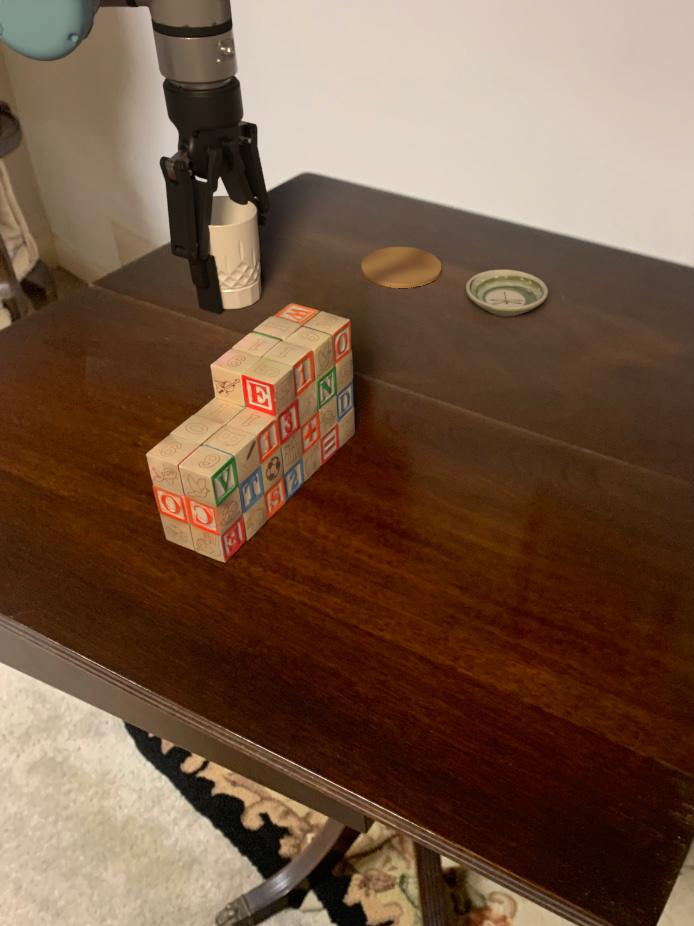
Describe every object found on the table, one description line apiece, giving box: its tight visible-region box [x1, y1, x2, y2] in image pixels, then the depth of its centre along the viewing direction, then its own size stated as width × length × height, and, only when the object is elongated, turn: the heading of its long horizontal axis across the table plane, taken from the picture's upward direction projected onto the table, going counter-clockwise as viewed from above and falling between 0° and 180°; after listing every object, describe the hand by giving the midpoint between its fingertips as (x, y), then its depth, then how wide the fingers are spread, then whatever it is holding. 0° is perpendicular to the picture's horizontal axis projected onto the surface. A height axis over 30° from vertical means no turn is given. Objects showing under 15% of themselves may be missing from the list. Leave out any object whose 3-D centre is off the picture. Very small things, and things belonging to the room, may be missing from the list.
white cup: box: [196, 195, 262, 310], centre depth 100 cm, size 8×8×10 cm
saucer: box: [465, 269, 549, 318], centre depth 104 cm, size 10×10×2 cm
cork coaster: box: [360, 246, 443, 289], centre depth 110 cm, size 10×10×1 cm
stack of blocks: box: [145, 302, 356, 563], centre depth 76 cm, size 21×6×12 cm, turn 154°
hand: (232, 293), depth 104 cm, fingers closed on white cup, 8 cm apart
